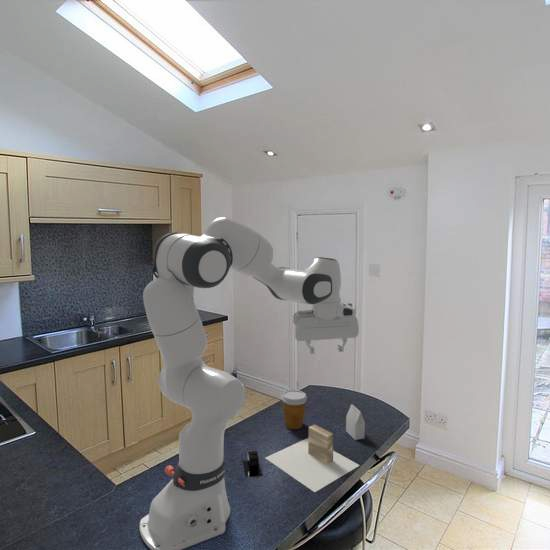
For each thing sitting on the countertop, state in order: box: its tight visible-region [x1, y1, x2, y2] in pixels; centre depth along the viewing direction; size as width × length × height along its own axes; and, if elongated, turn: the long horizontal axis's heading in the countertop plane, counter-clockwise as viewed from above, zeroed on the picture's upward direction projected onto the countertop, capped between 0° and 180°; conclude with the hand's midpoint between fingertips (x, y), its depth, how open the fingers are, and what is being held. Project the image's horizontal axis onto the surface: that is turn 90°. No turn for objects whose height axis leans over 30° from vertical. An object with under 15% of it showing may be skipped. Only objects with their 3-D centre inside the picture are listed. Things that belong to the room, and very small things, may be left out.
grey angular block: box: [345, 404, 366, 441], centre depth 144 cm, size 4×7×10 cm, turn 18°
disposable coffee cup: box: [281, 389, 308, 430], centre depth 150 cm, size 10×10×12 cm
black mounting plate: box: [241, 450, 264, 478], centre depth 125 cm, size 12×7×5 cm, turn 11°
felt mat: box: [265, 437, 360, 493], centre depth 127 cm, size 20×22×1 cm
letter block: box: [308, 424, 335, 464], centre depth 129 cm, size 3×8×9 cm, turn 40°
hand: (326, 352), depth 127 cm, fingers open, 8 cm apart
